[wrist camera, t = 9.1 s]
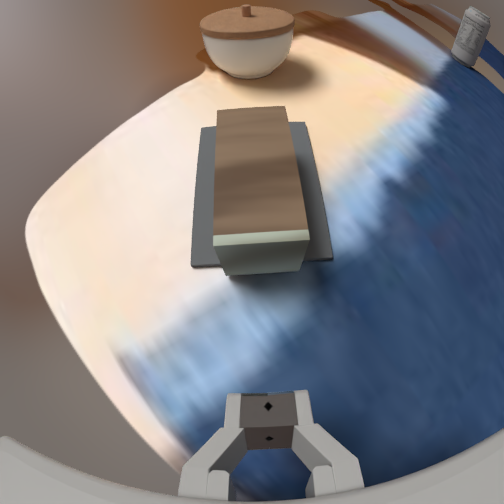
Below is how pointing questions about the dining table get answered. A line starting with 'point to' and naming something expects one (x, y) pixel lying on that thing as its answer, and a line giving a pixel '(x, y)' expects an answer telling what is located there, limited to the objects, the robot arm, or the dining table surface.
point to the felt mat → (204, 199)
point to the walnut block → (257, 193)
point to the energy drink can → (470, 37)
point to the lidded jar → (248, 39)
